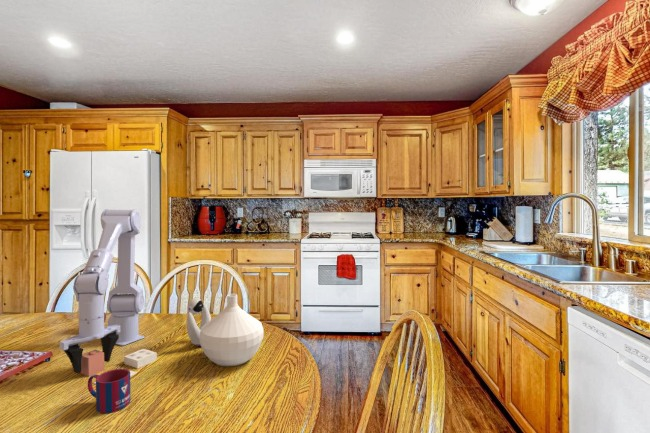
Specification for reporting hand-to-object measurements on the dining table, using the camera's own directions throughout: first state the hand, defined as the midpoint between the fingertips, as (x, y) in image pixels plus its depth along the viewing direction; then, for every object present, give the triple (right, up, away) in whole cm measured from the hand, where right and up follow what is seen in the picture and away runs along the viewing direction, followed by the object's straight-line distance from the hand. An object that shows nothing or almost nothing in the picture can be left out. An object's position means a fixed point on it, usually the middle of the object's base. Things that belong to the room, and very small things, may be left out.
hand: (92, 366), depth 95 cm
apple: (-20, 0, +31) cm, 37 cm away
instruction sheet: (+8, -2, -3) cm, 9 cm away
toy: (+22, -1, +19) cm, 29 cm away
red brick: (0, -2, 0) cm, 2 cm away
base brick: (+10, -2, +6) cm, 12 cm away
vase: (+36, -2, +9) cm, 37 cm away
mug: (+14, -2, -15) cm, 20 cm away
